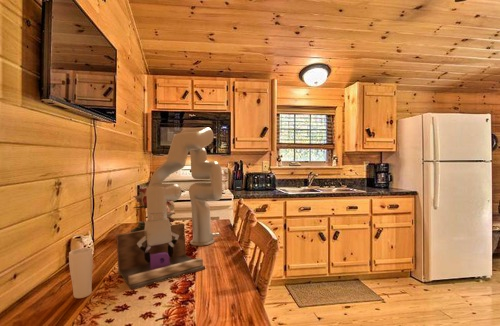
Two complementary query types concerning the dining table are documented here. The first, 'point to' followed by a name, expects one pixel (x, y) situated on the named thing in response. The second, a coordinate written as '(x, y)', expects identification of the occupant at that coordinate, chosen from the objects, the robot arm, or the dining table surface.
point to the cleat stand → (133, 257)
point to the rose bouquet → (143, 201)
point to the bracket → (159, 260)
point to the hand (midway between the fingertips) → (159, 258)
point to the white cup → (81, 271)
